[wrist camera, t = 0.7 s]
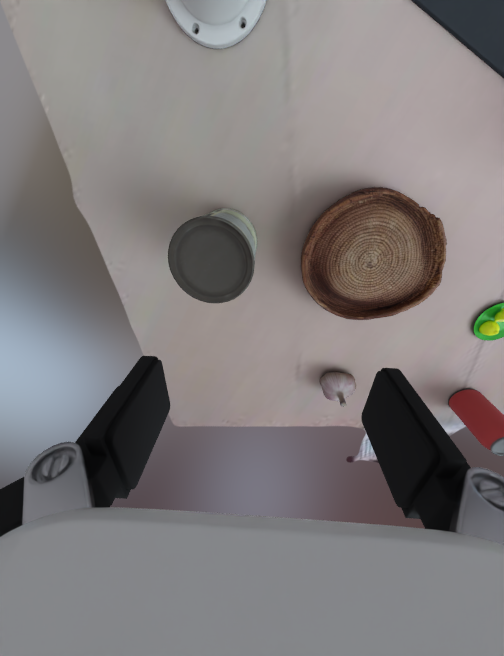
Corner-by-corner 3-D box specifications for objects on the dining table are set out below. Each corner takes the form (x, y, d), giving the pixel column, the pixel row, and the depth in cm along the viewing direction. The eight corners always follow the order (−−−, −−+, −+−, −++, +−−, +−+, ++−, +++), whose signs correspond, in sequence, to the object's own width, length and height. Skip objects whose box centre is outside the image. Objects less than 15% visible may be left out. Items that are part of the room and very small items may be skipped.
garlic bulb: (312, 375, 54) (319, 403, 47) (342, 360, 52) (353, 386, 45) (330, 395, 57) (338, 424, 50) (359, 381, 54) (372, 409, 48)
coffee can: (243, 280, 44) (234, 315, 32) (189, 256, 43) (158, 283, 30) (268, 225, 39) (269, 241, 27) (208, 195, 38) (181, 198, 25)
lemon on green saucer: (481, 301, 44) (494, 308, 41) (529, 300, 43) (544, 306, 41) (464, 339, 48) (475, 347, 45) (508, 338, 47) (521, 346, 45)
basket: (464, 218, 37) (490, 221, 33) (391, 325, 47) (403, 339, 43) (329, 168, 35) (338, 165, 31) (281, 292, 45) (283, 303, 41)
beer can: (471, 409, 57) (517, 458, 46) (442, 407, 57) (481, 456, 47) (485, 388, 54) (537, 436, 43) (454, 386, 54) (499, 434, 43)
